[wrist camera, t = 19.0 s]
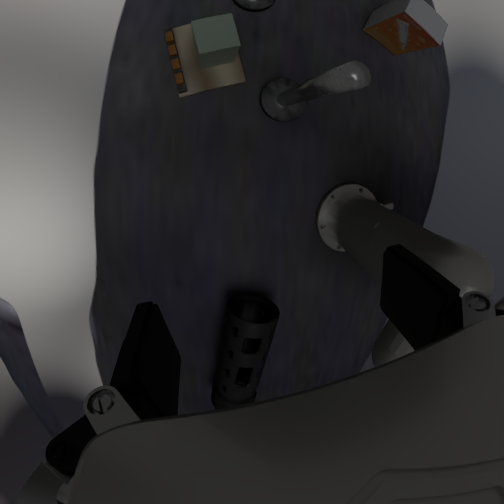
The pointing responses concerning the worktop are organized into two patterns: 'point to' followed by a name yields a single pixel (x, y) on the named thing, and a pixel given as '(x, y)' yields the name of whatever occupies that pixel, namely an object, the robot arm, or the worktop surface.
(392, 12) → the small box
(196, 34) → the green block
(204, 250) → the worktop surface
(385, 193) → the worktop surface
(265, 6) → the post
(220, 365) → the muzzle brake
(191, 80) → the breaker board
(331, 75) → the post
